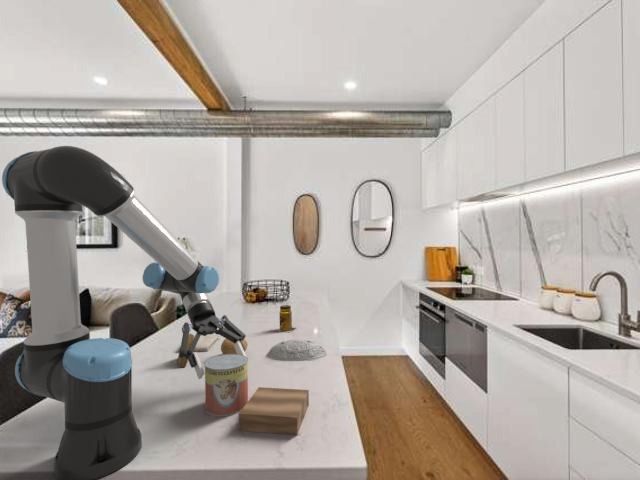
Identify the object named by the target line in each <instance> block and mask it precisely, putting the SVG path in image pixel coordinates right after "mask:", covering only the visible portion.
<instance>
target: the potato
mask: <svg viewBox="0 0 640 480" xmlns="http://www.w3.org/2000/svg"><path fill="white" fill-rule="evenodd" d="M242 343H243V345H244V347H245V351H244V352H245V353H246V351H247V349H248V342H247V340H246V339H245V338H244V340H243V341H242ZM234 345H235V343H233V342H231V341H229V340H228V339H226V338H224V340H223V341H222V343H221V345H220V351H221V353H222V355H227V354H237V352H236V350H235V348H234Z"/></svg>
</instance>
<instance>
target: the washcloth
mask: <svg viewBox="0 0 640 480" xmlns="http://www.w3.org/2000/svg"><path fill="white" fill-rule="evenodd" d="M194 337H195V335H194ZM219 340H220V335H219V334H218V335H217V334H208V335H206V336H203V335H201V336H200V338H199V340H198V342H197V345H196V347H195V349H194V351H193V353H195V352H197V353H200V351H203V352H204V351H205V352H209V351H210V350H211V349H212V348H213V346H214V345H215V344H216V343H217V342H218V341H219Z"/></svg>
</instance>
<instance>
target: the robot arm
mask: <svg viewBox="0 0 640 480" xmlns="http://www.w3.org/2000/svg"><path fill="white" fill-rule="evenodd" d="M1 183H2V187H3V189H4V191H5V193H6V194H7V196H9V197H10V198H11V199H12V200H13V201H14V203H13V204H14V213H15V215H17V216H18V217H19V218H21V219H22V220H23V221H24V222H25V235H26V236H25V237H26V253H27V255H26V256H27V265H28V267H27V268H28V269H27V270H28V282H29V298H30V299H29V300H30V313H31V314H30V315H31V316H30V317H31V330H32V331H31V333H30V334H29V335H28V336H27V337H26V338H25V339H24V340H23V352H22V353H21V354H20V355H19V356H18V358H17V359H16V363H15V366H14V375H15V380H16V381H17V383H18V384H19V386H21V387H22V388H23V389H25V390H26V391H27V392H28V393H30V394H33V395H36V396H38V397H45V398H49V399H51V400H55V401H58V402H62V403H64V431H63V433H62V437H61V440H60V442H59V445H58V451H57V452H56V454H55V456H54V459H53V474H54V477H55V478H56V479H57V480H96V479H99V478H102V477H105V476H107V475H110V474H112V473H114V472H116V471H118V470H120V469H122V468H123V467H124V466H126V465H128V464H129V463H131V462H132V460H134V459H135V458H136V457H137V456H138V455H139V453H140V451H141V450H142V447H143V446H142V445H143V444H142V442H143V441H142V432H141V430H140V429H139V428H138V425H137V422H136V419H135V416H134V414H133V409H132V407H133V398H132V397H133V395H132V394H133V391H132V390H133V387H132V386H133V385H132V384H133V383H132V381H133V380H132V379H133V377H132V376H133V375H132V373H133V371H132V367H133V359H132V358H133V357H132V353H131V348H130V345H129V344H128V343H127V342H126V341H124V340H121V339H117V338H111V337H107V338H103V337H97V338H90V337H91V336H90V329H89V328H88V327H87V326H86V325H83V324H82V320H81V317H82V316H81V304H80V289H79V288H80V285H79V284H80V283H79V268H78V251H77V233H76V220H77V219H78V218H79V217H80V216H81V215H83V207H85V208H86V209H89V211H91V212H92V213H93V214H94V215H96V216H97V217H101V218H102V217H105V218H106V219H107V220H108V221H110V222H111V223H112V224H113V225H114V226H116V227H117V229H119V230H120V231H121V232H122V233H123V234H125V236H127V237H128V238H129V239H130V240H131V241H132V242H133V243H134V244H135V245H137V246H138V247H139V248H140V249H141V250H143V252H145V253H146V254H147V255H148V256H149V257H150V258H151V259H153V260H154V262H151V263H149V264H148V265H147V266H146V267H145V269H144V270H143V274H142V282H143V285H144V286H145V287H147V288H150V289H152V290H157V291H158V290H159V291H163V292H164V291H165V292H168V293H169V292H170V293H173V294H178V295H179V296H180V298H181V301H182V304H183V306H184V309H185V312H186V313H187V316H188V319H189V322H190V323H189V322H186V321H185V322H184V324H183V325H182V327H181V332H182V338H181V343H180V346H181V347H180V346H179V349H180V352H179V351H178V356H179V357H181V358H182V357H185V358H186V359H188V360H189V361H188V363H189V366H190V368H191V369H193V368H194V370H195V372H196V375H197V378H198V380H200V379H202V378H203V377H204V376H205V369H204V368H203V365H202V363H201V360H200V357H199V355H198V352H193V351H194V349H195V347H196V345H197V342H198V340H199V338H200V336H201V335H203V336H206V335H207V336H209V335H219V336H220V337H223V338H224V339H228V340H229V341H231V342H233V343H235V345H234V348H235V350H236V352H237V354H238V355H243V356H245V357H247V358H248V356H247V355H246V351H245V347H244V345H243V343H242V341H243V340H244V339H245V338H246V334H245V332H243V331H242V330H241V329H239V327H238V326H236V325H235V324H234V323H233V322H232V321H231V320H229V318H228V316H227V314H224V315H223V316H221V317H217V315H216V312H215V311H216V310H215V309H214V306H213V305H212V303H211V299H210V297H209V296H208V294H210V293H213V292H214V291H215V290H216V289H217V288H218V285H219V282H220V276H219V275H220V274H219V272H218V270H217V269H216V268H214V267H213V266H208V265H203V264H202V263H201V262H200V261H198V260H197V258H196V257H195V256H194V255H193V254H191V252H190V251H189V250H188V249H187V248H186V247H185V246H184V245H183V244H182V243H181V242H180V241H179V240H178V239H177V238H176V237H175V235H173V234H172V233H171V232H170V231H169V230H168V228H166V226H165V225H164V224H163V223H162V222H161V221H160V220H159V219H158V218H157V217H156V216H155V215H154V214H153V213H152V212H151V210H149V209H148V207H147V206H146V205H145V204H144V203H143V202H141V200H140V199H139V198H138V197H137V196H136V195H135V187H134V186H132V185H133V184H131V183H130V182H129V181H128V180H127V179H126V178H125V177H124V176H123V175H122V174H121V173H120V172H119V171H117V169H115V168H114V167H113V166H111V165H110V164H109V163H108V162H106V161H105V160H104V159H103V158H101V157H99V156H98V155H96V154H94V153H93V152H90V151H89V150H86V149H84V148H81V147H77V146H72V145H60V146H55V147H52V148H47V149H44V150H39V151H37V150H34V151H29V152H26V153H22V154H21V155H18V156H17V157H14V158H13V159H12V160H11V161H9V162H8V163H7V164H6V166H5V167H4V169H3V172H2V175H1ZM191 330H194V331H195V332H196V334H195V335H194V336H195V337H194V340H193V342H192V344H191V346H190V348H189V350H186V349H187V343H188V337H189V334H190V332H191ZM244 351H245V352H244Z"/></svg>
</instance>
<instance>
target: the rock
mask: <svg viewBox="0 0 640 480" xmlns="http://www.w3.org/2000/svg"><path fill="white" fill-rule="evenodd" d="M194 336H195V335H194V334H193V333H189V337H188V343H187V349H186V350H189V348H190V346H191V344H192V342H193V340H194ZM180 347H181V345H179V349H178V353H179V352H180ZM176 363H177V365H178V367H179V368H186V367H187V365H188V363H189V360H188V359H186V358H185V357H182V358H181V357H179V355H178V357H177V360H176Z"/></svg>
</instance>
